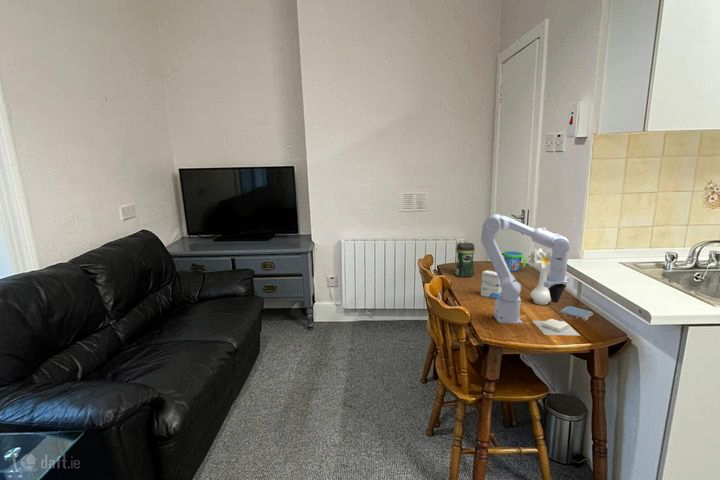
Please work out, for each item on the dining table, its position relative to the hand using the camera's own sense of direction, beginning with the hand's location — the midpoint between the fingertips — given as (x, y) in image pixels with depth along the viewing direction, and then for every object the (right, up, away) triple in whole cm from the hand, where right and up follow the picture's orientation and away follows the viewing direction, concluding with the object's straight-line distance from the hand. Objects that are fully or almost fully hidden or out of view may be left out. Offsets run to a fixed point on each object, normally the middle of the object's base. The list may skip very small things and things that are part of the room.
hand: (554, 301), depth 155 cm
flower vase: (+7, -5, +29) cm, 30 cm away
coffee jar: (-17, +4, +69) cm, 71 cm away
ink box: (-13, -3, +37) cm, 39 cm away
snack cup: (+13, +6, +79) cm, 81 cm away
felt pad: (0, -11, +1) cm, 11 cm away
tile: (-2, -10, -1) cm, 10 cm away
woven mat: (+16, -8, +15) cm, 23 cm away
